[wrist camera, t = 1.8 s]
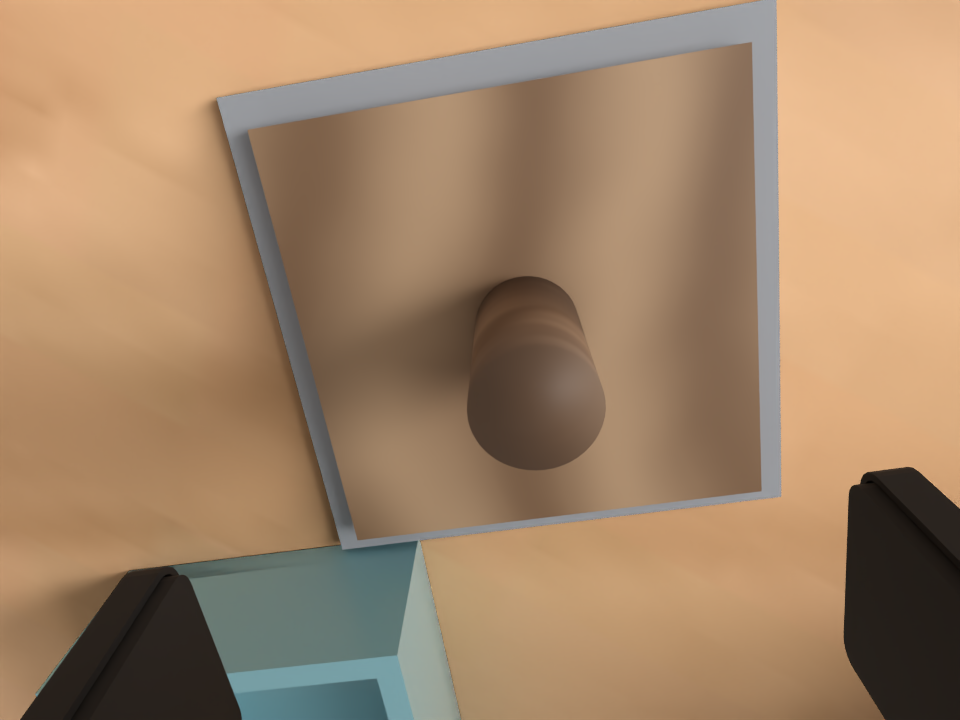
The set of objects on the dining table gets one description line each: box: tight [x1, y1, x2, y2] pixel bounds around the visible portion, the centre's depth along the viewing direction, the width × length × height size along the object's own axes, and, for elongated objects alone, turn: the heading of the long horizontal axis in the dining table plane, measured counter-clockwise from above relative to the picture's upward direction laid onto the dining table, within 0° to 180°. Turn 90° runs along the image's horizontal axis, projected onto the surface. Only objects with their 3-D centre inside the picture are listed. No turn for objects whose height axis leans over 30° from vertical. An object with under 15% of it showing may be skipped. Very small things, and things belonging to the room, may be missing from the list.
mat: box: [217, 0, 781, 550], centre depth 23 cm, size 16×16×1 cm
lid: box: [248, 42, 762, 540], centre depth 20 cm, size 14×14×7 cm
